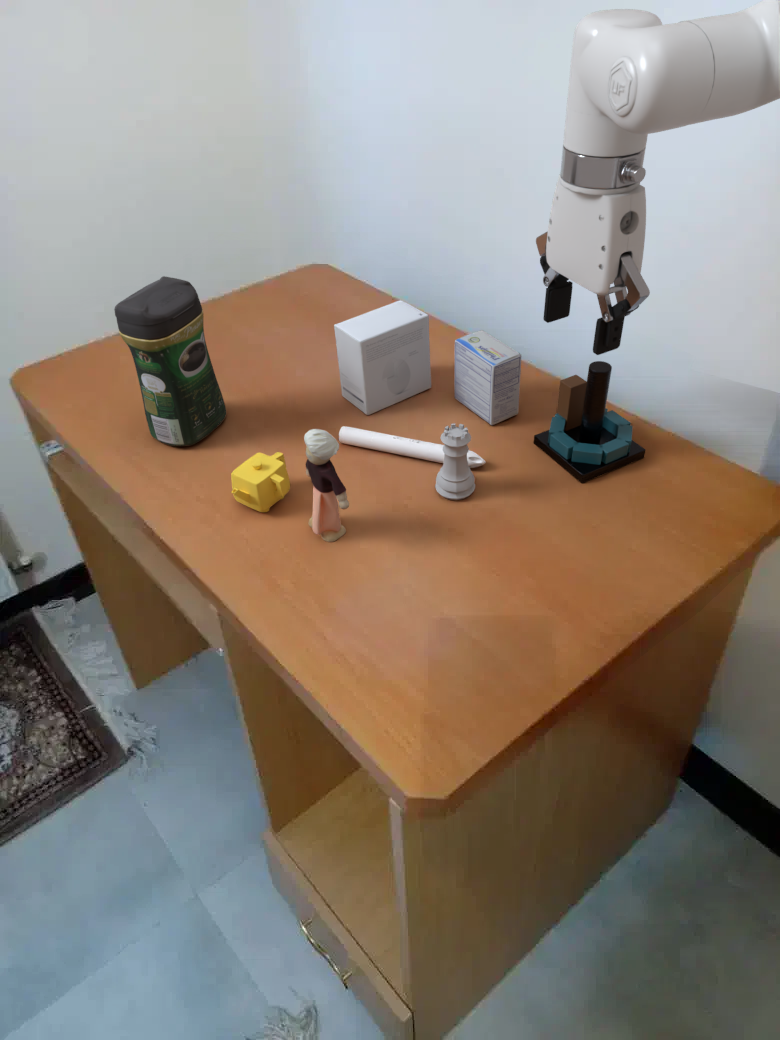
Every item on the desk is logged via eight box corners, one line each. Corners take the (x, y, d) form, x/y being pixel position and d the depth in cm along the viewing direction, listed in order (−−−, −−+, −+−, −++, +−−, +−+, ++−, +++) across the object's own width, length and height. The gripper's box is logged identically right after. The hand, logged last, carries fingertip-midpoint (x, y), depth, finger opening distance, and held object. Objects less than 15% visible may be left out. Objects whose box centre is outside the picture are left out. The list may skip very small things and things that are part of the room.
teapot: (262, 531, 84) (254, 494, 81) (223, 513, 87) (214, 476, 83) (309, 491, 89) (304, 454, 86) (271, 474, 92) (264, 438, 88)
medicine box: (519, 415, 98) (523, 353, 93) (490, 427, 97) (493, 365, 91) (480, 388, 104) (483, 328, 98) (453, 399, 102) (453, 338, 96)
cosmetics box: (403, 368, 108) (400, 297, 101) (432, 388, 104) (431, 315, 97) (339, 395, 104) (331, 322, 97) (366, 416, 100) (361, 342, 93)
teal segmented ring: (647, 446, 90) (656, 402, 87) (584, 473, 87) (591, 428, 83) (592, 408, 97) (598, 365, 93) (532, 432, 94) (536, 389, 90)
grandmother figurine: (292, 523, 85) (276, 425, 77) (319, 506, 87) (306, 409, 79) (340, 557, 81) (329, 457, 72) (367, 538, 83) (359, 439, 74)
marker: (488, 464, 91) (489, 448, 90) (483, 475, 90) (483, 458, 88) (346, 436, 97) (344, 420, 95) (339, 446, 95) (337, 430, 94)
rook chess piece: (476, 501, 86) (478, 441, 81) (435, 502, 87) (435, 443, 81) (474, 476, 90) (475, 417, 84) (434, 477, 90) (434, 418, 85)
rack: (644, 458, 91) (662, 373, 83) (581, 483, 88) (594, 397, 80) (593, 420, 97) (605, 338, 90) (533, 443, 94) (541, 360, 87)
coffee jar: (189, 401, 104) (155, 266, 92) (237, 415, 101) (209, 277, 89) (139, 440, 98) (95, 300, 86) (189, 456, 95) (151, 313, 83)
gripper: (699, 183, 70) (662, 358, 82) (574, 136, 82) (558, 296, 93) (633, 201, 68) (605, 379, 79) (515, 150, 79) (505, 312, 91)
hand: (580, 333), depth 86 cm, fingers open, 7 cm apart
